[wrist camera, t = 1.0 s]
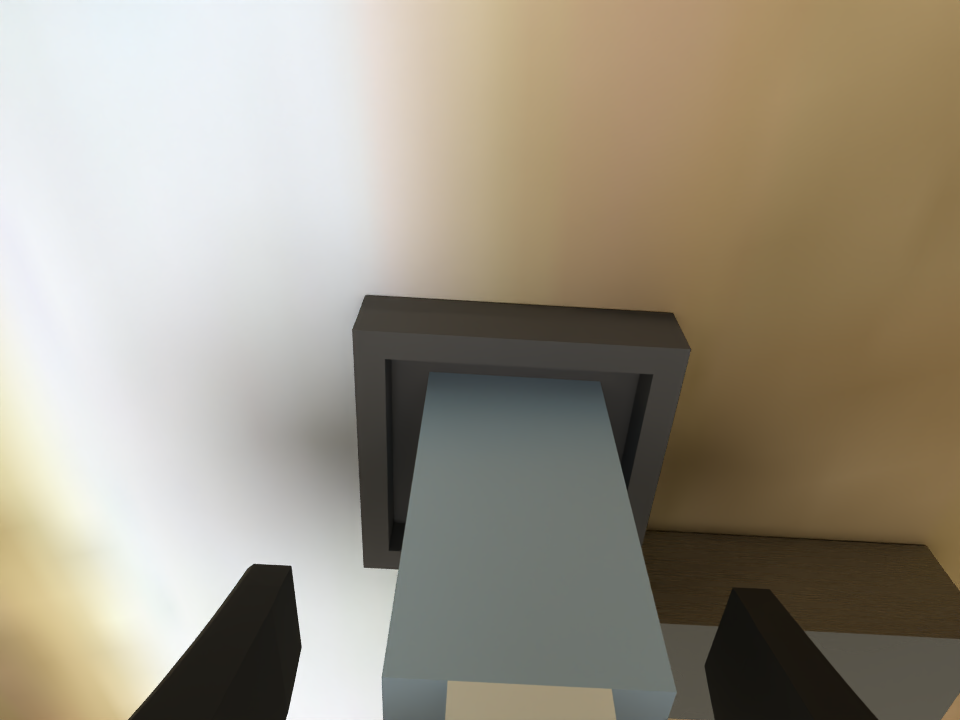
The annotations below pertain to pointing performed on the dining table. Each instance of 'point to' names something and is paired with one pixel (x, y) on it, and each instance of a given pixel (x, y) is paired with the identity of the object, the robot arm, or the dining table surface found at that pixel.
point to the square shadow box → (504, 352)
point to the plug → (521, 564)
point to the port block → (816, 613)
